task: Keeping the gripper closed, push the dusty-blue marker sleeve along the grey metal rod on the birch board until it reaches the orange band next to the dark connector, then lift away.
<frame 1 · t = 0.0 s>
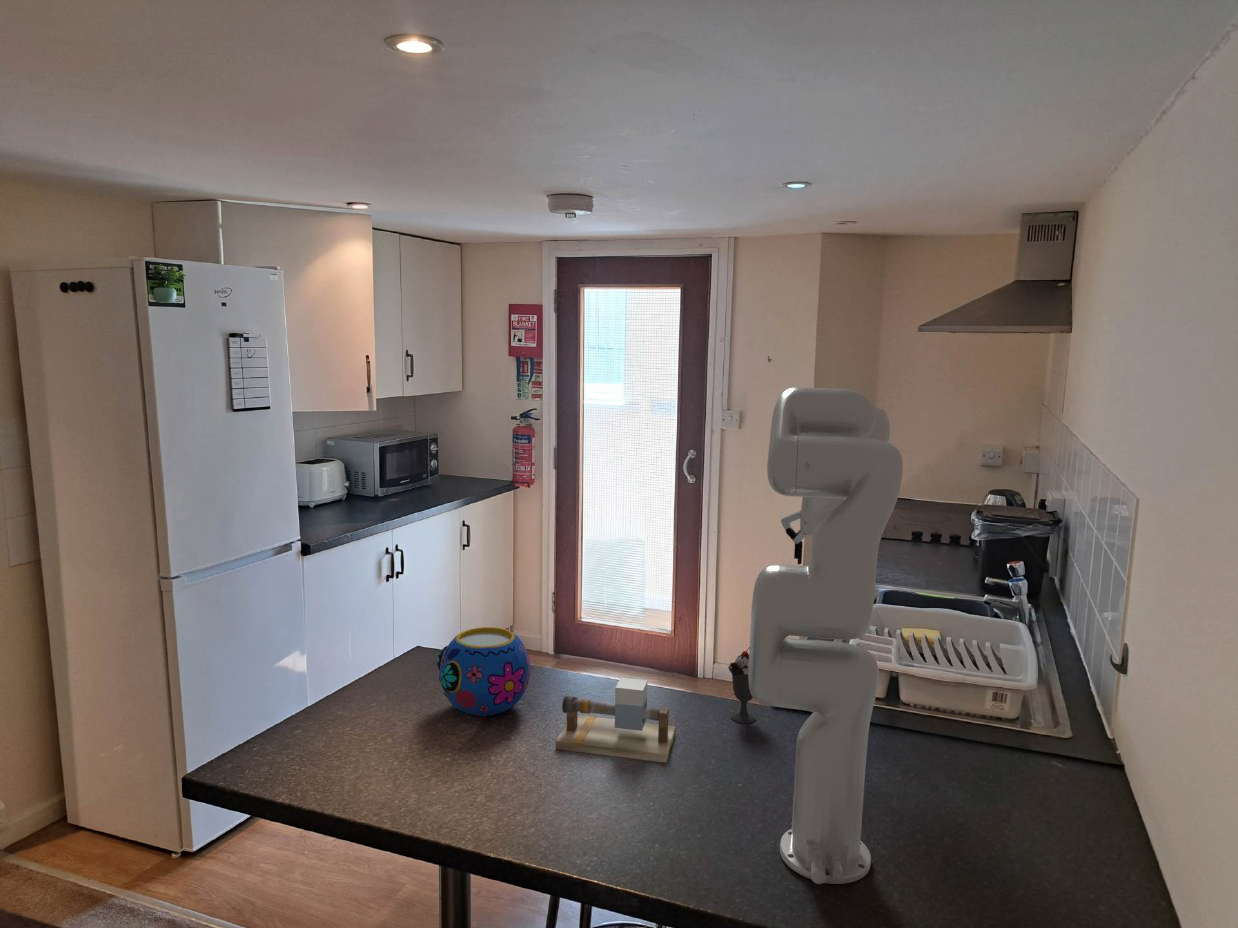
hand: (825, 564, 156), 31 cm above the worktop, tool pointing down, fingers open, 9 cm apart
ceramic pot: (485, 710, 162), on the worktop
sundae: (743, 718, 160), on the worktop
sleeve: (631, 703, 148), point 7 cm above the worktop, slide at 0.0 cm
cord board: (616, 741, 150), on the worktop
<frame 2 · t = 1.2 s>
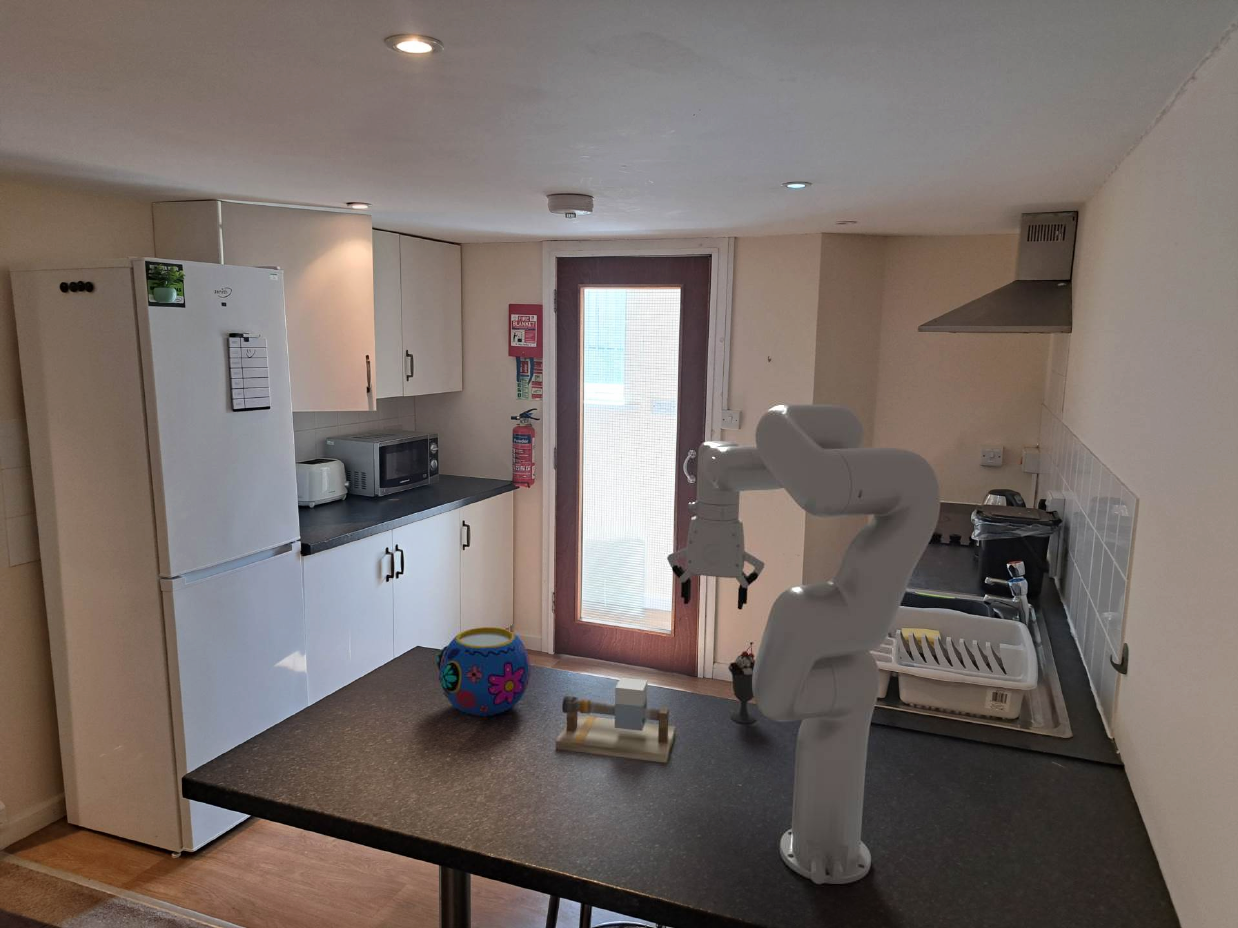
hand: (713, 604, 147), 26 cm above the worktop, tool pointing down, fingers open, 9 cm apart
nothing on the worktop moved.
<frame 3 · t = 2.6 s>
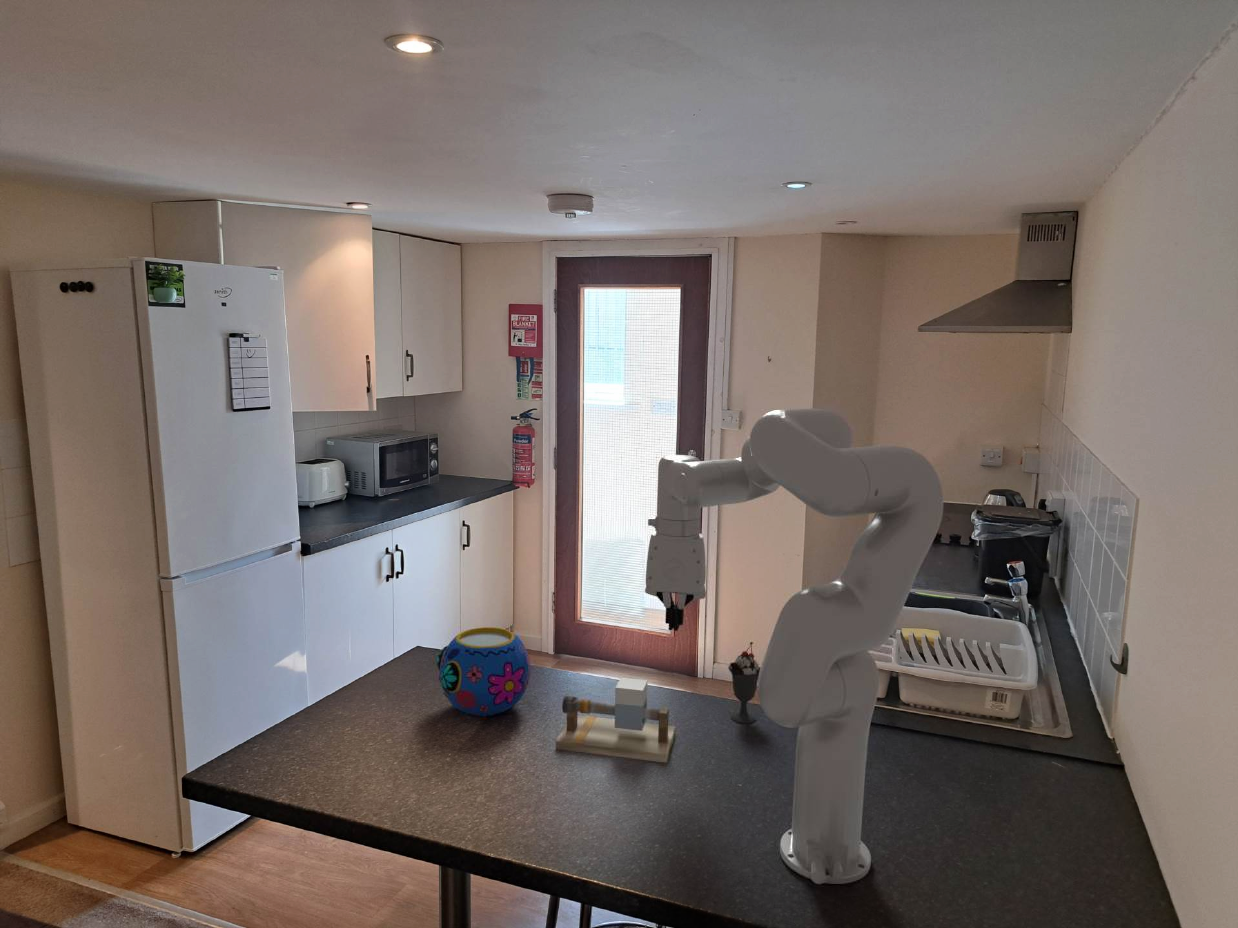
hand: (674, 627, 145), 22 cm above the worktop, tool pointing down, fingers closed
nothing on the worktop moved.
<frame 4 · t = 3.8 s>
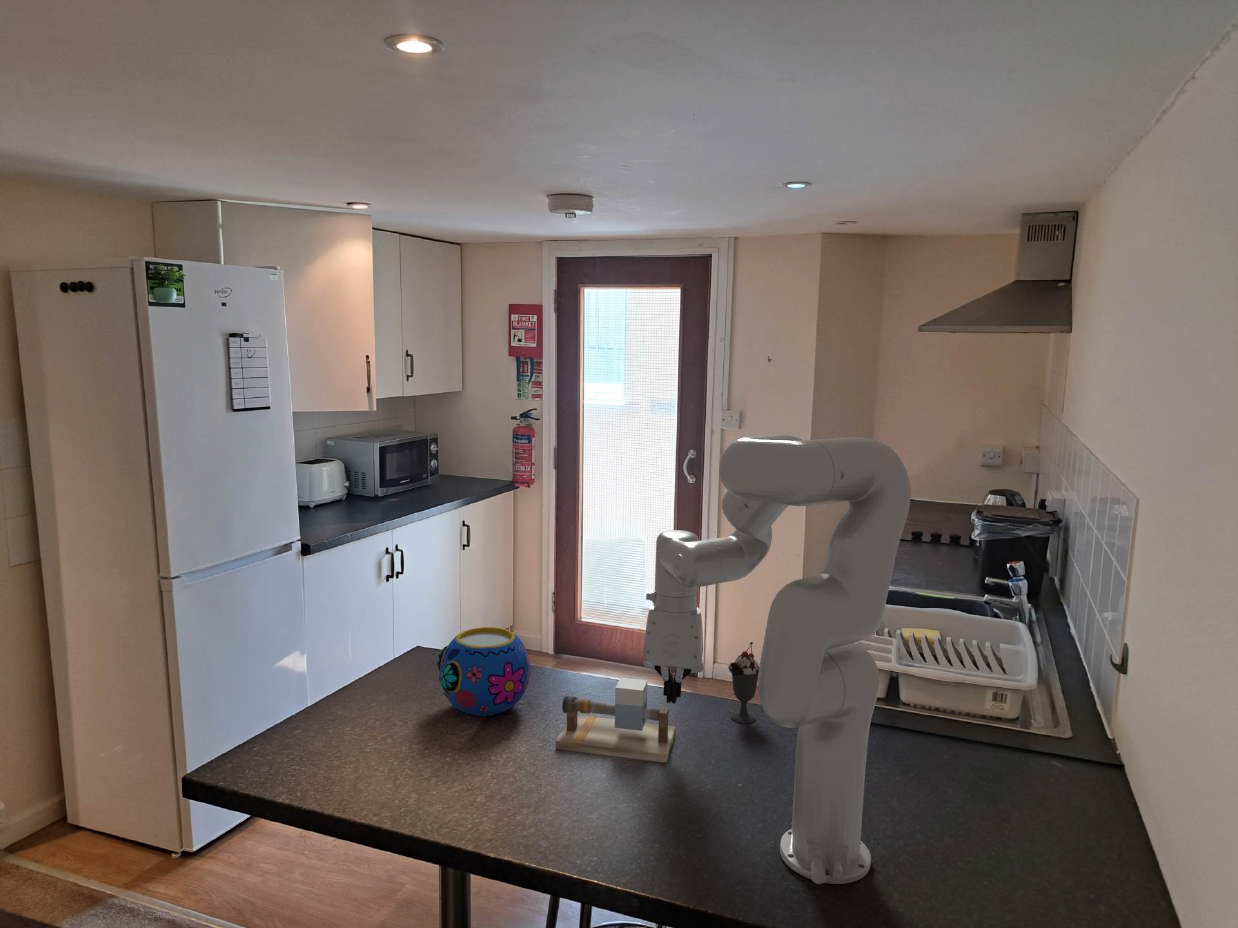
hand: (672, 699, 147), 9 cm above the worktop, tool pointing down, fingers closed
nothing on the worktop moved.
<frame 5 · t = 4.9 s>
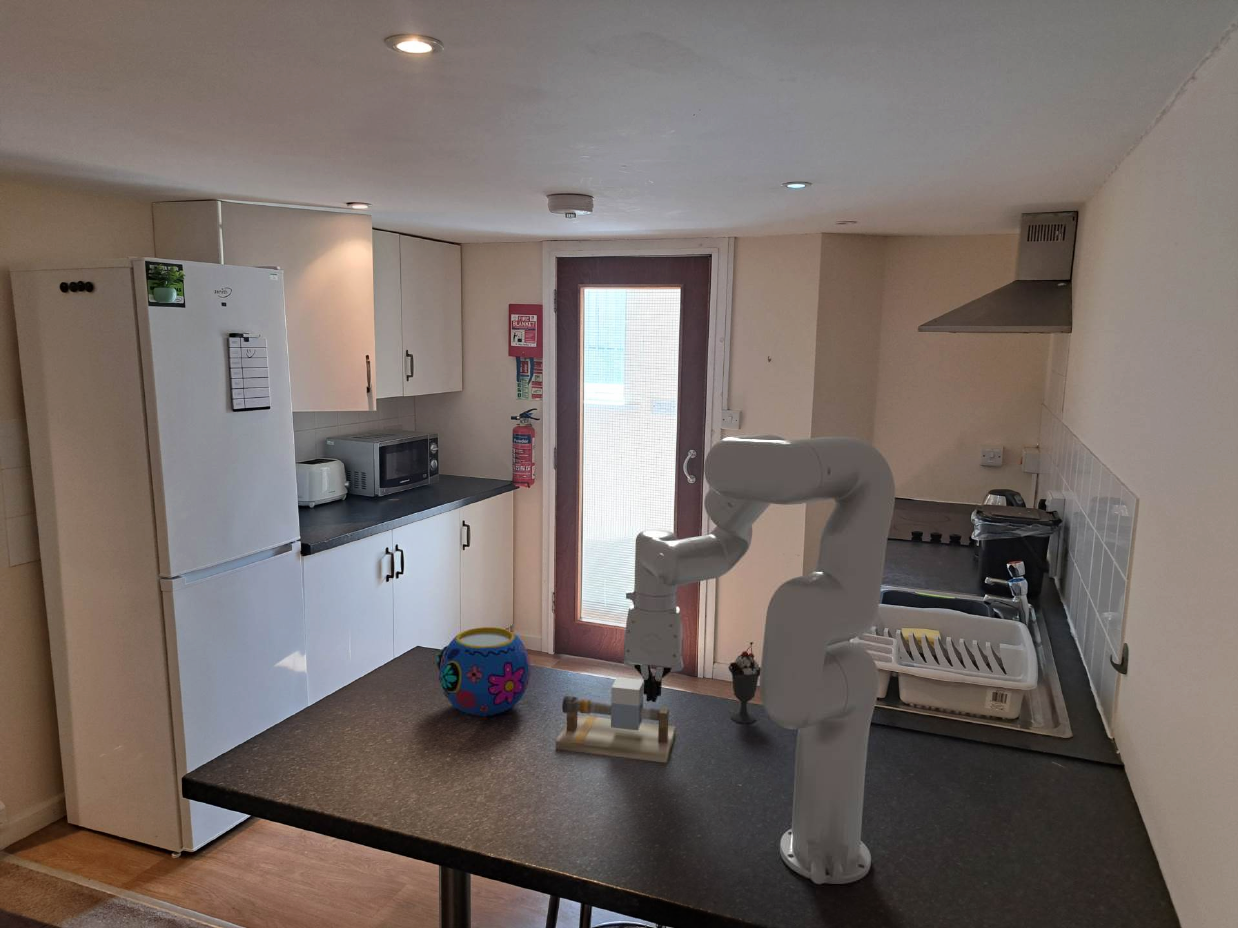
hand: (652, 698, 147), 9 cm above the worktop, tool pointing down, fingers closed
sleeve: (627, 703, 148), point 7 cm above the worktop, slide at 0.7 cm, touching gripper
everything else where it was.
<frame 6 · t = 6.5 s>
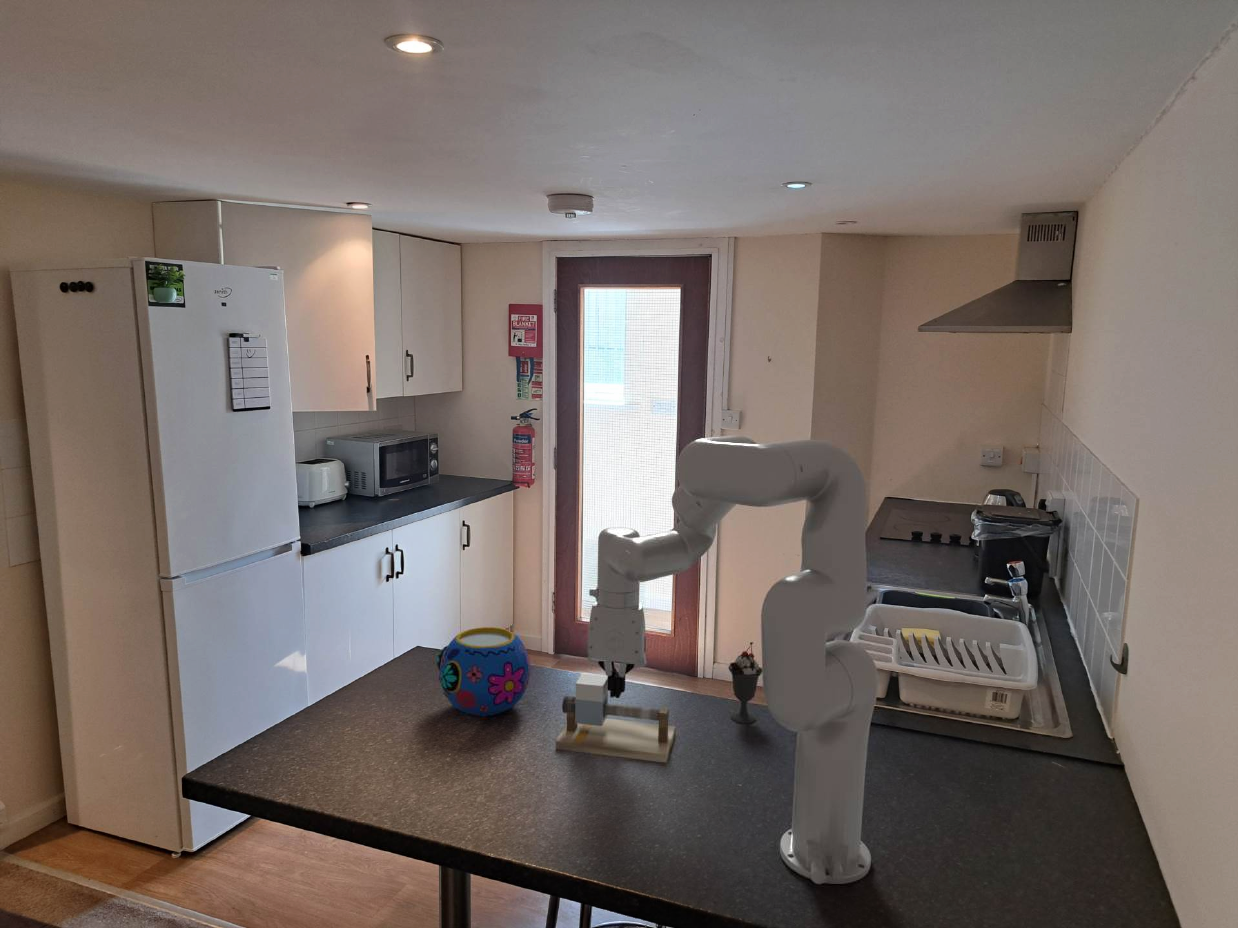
hand: (616, 694, 149), 9 cm above the worktop, tool pointing down, fingers closed
sleeve: (591, 699, 150), point 7 cm above the worktop, slide at 7.3 cm, touching gripper
everything else where it was.
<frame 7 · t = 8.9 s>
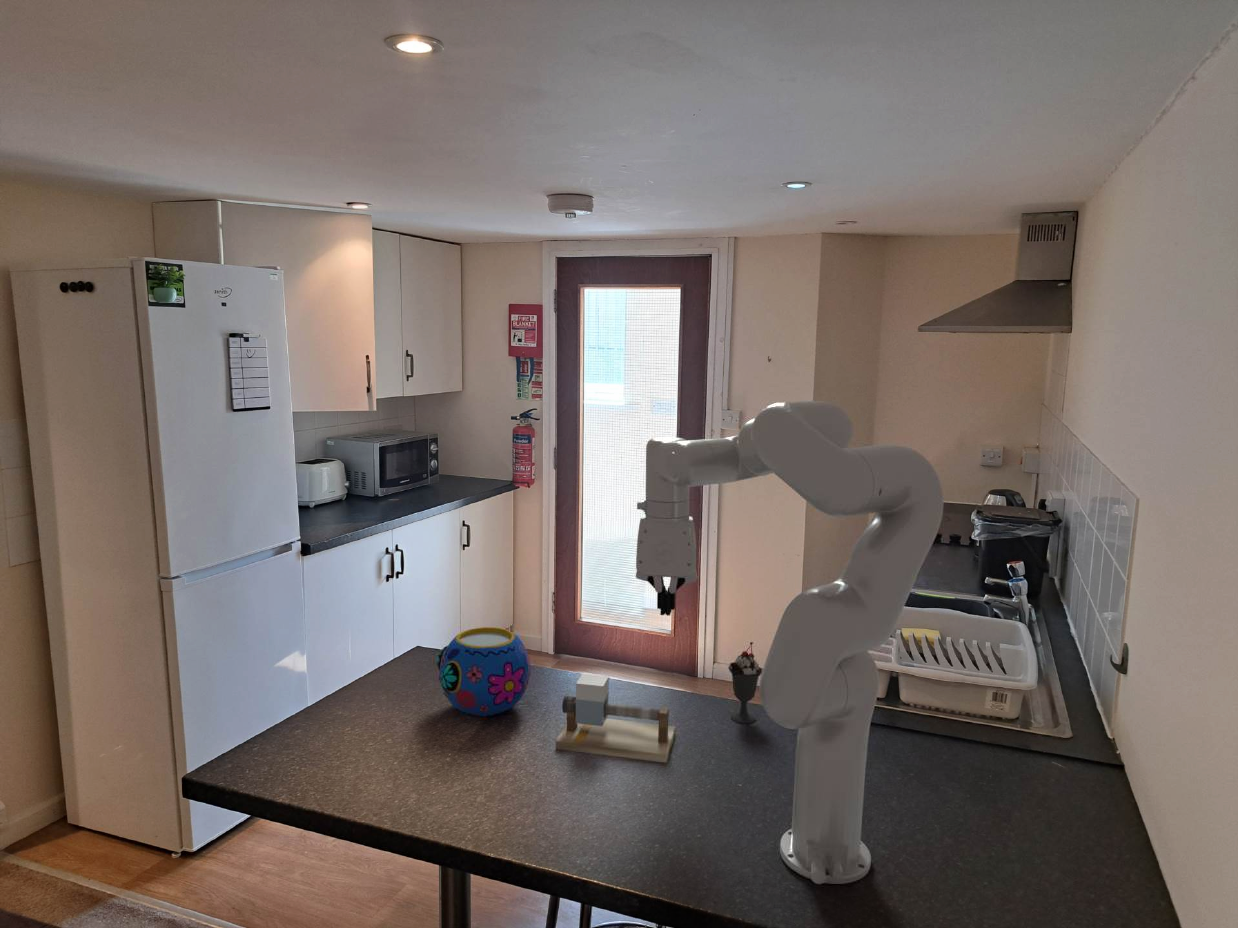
hand: (666, 612, 143), 26 cm above the worktop, tool pointing down, fingers closed
sleeve: (592, 699, 150), point 7 cm above the worktop, slide at 7.2 cm
everything else where it was.
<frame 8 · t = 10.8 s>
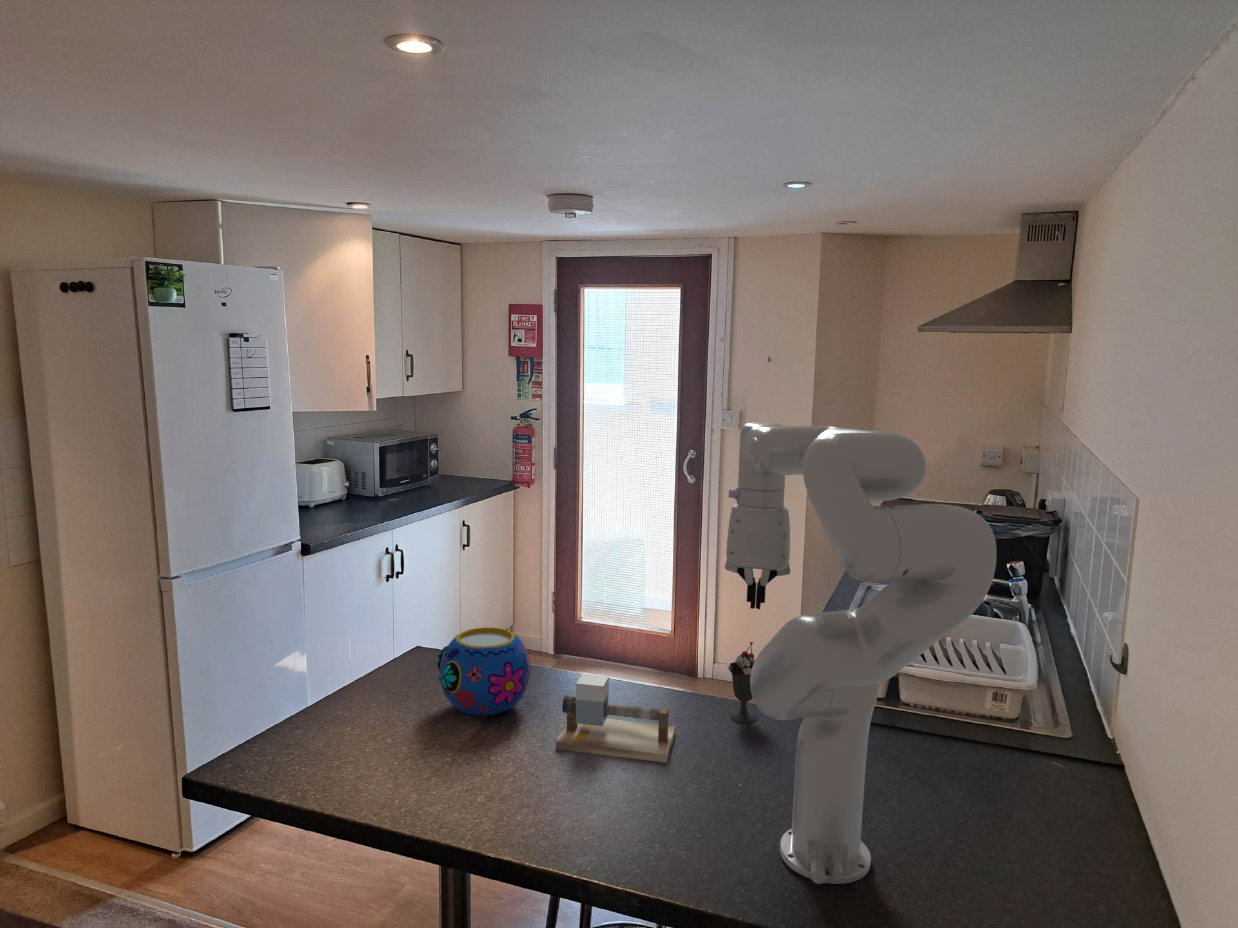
hand: (755, 606, 136), 29 cm above the worktop, tool pointing down, fingers closed
nothing on the worktop moved.
at the end: sleeve slide at 7.2 cm; sundae moved 0.2 cm from its start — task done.
